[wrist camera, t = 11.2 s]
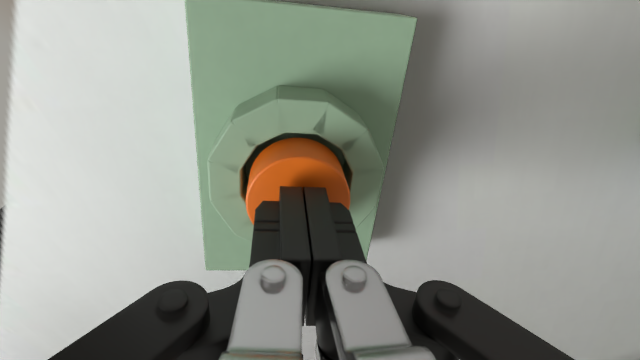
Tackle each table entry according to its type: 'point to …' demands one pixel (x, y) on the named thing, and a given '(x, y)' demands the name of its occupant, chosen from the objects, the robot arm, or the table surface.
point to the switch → (295, 172)
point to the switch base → (290, 102)
